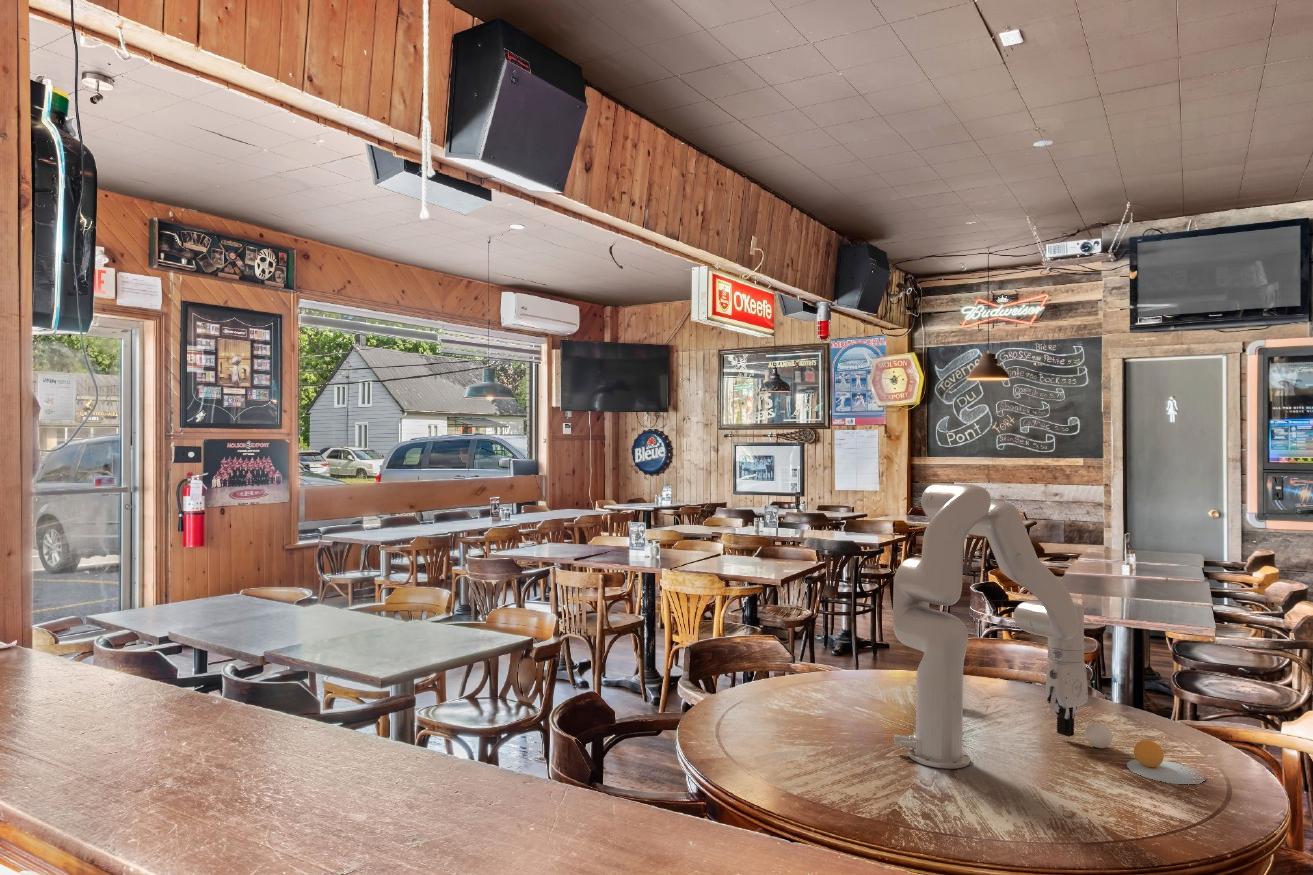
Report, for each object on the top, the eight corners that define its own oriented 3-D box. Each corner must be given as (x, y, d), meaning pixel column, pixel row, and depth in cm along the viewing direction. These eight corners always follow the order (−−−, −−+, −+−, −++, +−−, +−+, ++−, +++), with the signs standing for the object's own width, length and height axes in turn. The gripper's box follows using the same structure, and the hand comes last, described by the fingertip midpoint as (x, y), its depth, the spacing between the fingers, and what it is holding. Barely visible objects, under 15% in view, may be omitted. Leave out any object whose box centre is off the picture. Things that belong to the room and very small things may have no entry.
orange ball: (1134, 743, 174) (1144, 770, 172) (1161, 737, 173) (1172, 765, 171) (1126, 742, 179) (1136, 768, 177) (1152, 737, 178) (1162, 763, 176)
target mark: (1140, 780, 167) (1140, 779, 167) (1117, 756, 181) (1117, 756, 181) (1217, 788, 164) (1217, 787, 164) (1188, 763, 178) (1188, 762, 178)
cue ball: (1099, 719, 185) (1092, 743, 183) (1121, 730, 185) (1114, 753, 183) (1084, 717, 190) (1077, 740, 189) (1105, 727, 190) (1098, 750, 189)
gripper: (1062, 662, 184) (1061, 744, 184) (1099, 654, 192) (1099, 733, 192) (1031, 655, 191) (1031, 734, 190) (1068, 648, 199) (1068, 724, 198)
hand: (1065, 734), depth 191 cm, fingers closed
